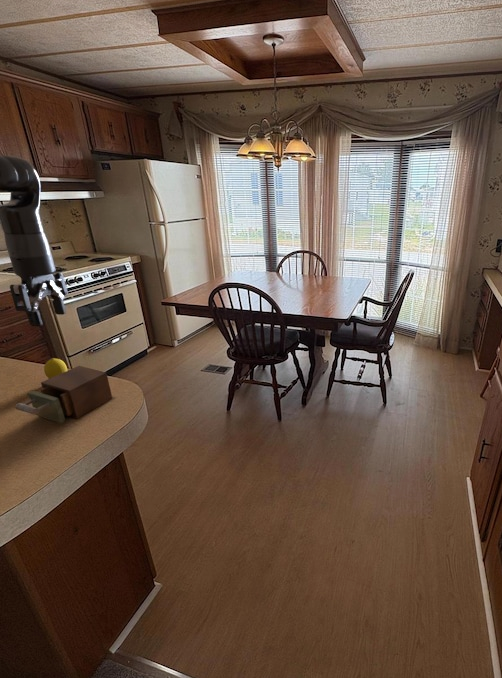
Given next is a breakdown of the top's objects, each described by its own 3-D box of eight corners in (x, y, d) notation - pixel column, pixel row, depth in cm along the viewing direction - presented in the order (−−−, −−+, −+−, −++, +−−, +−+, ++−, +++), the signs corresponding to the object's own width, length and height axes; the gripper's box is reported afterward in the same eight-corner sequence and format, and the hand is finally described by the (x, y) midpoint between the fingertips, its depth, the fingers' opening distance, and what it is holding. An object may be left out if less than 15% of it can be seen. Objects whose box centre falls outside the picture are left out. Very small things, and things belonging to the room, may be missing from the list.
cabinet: (77, 418, 90) (69, 390, 87) (49, 409, 93) (40, 382, 90) (112, 398, 100) (106, 372, 96) (86, 390, 103) (79, 365, 99)
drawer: (43, 433, 83) (35, 409, 81) (17, 424, 86) (9, 401, 83) (95, 403, 95) (89, 382, 93) (71, 396, 98) (65, 376, 95)
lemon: (68, 375, 111) (61, 352, 108) (71, 381, 107) (65, 358, 104) (46, 380, 107) (39, 357, 104) (49, 387, 104) (42, 364, 101)
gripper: (35, 248, 84) (53, 310, 90) (-14, 257, 71) (10, 330, 77) (67, 249, 85) (82, 311, 91) (24, 259, 72) (45, 330, 78)
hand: (49, 319), depth 84 cm, fingers open, 8 cm apart
